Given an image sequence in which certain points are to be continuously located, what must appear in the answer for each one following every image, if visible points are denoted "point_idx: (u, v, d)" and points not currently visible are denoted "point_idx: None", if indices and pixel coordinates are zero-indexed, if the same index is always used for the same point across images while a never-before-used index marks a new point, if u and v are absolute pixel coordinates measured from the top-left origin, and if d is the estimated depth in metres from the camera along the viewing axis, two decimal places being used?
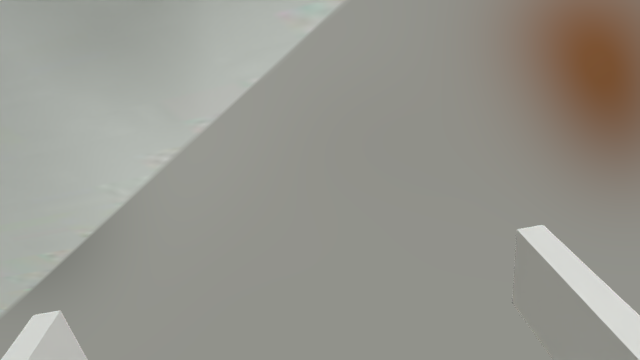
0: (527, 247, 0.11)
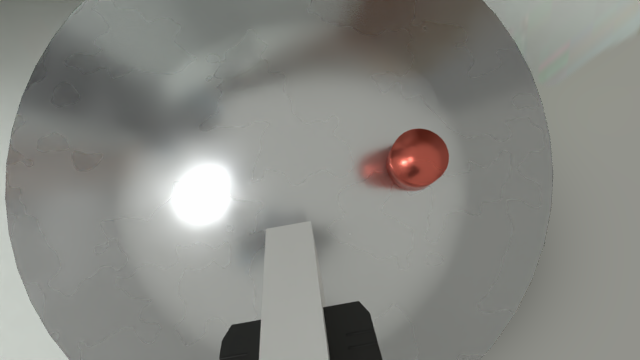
0: (289, 240, 0.14)
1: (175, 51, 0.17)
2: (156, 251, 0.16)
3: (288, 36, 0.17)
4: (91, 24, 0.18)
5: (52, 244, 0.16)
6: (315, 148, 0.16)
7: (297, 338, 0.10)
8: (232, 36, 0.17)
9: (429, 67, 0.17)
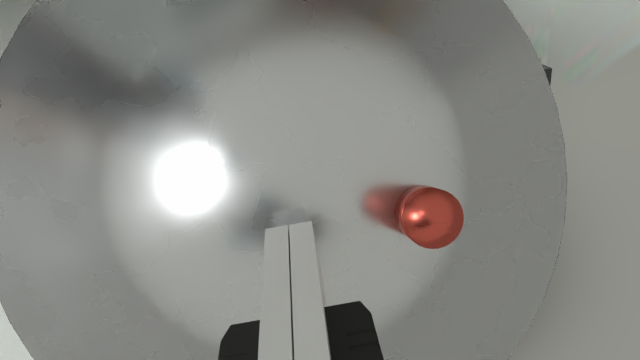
0: (290, 240, 0.14)
1: (154, 77, 0.15)
2: (156, 304, 0.15)
3: (287, 59, 0.15)
4: (46, 40, 0.15)
5: (43, 298, 0.15)
6: (319, 194, 0.15)
7: (298, 338, 0.10)
8: (220, 58, 0.15)
9: (447, 100, 0.15)
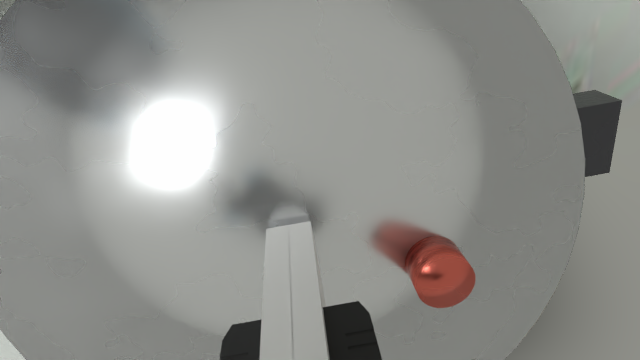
0: (289, 240, 0.14)
1: (146, 134, 0.13)
2: (170, 342, 0.16)
3: (299, 113, 0.13)
4: (8, 93, 0.12)
5: (58, 342, 0.15)
6: (330, 247, 0.15)
7: (296, 338, 0.10)
8: (221, 113, 0.13)
9: (472, 155, 0.14)
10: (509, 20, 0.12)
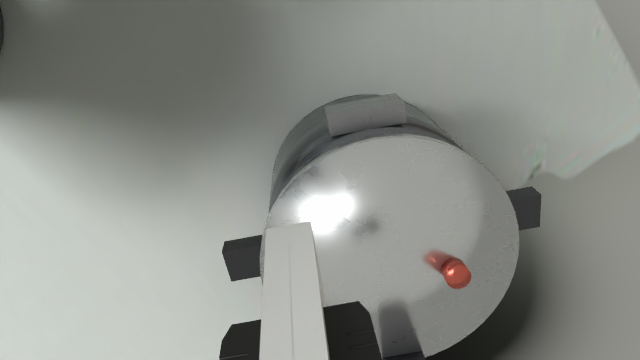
0: (289, 240, 0.14)
1: (339, 218, 0.33)
2: (335, 304, 0.36)
3: (399, 209, 0.33)
4: (292, 204, 0.32)
5: None
6: (408, 262, 0.35)
7: (297, 338, 0.10)
8: (369, 209, 0.33)
9: (469, 224, 0.34)
10: (482, 174, 0.32)
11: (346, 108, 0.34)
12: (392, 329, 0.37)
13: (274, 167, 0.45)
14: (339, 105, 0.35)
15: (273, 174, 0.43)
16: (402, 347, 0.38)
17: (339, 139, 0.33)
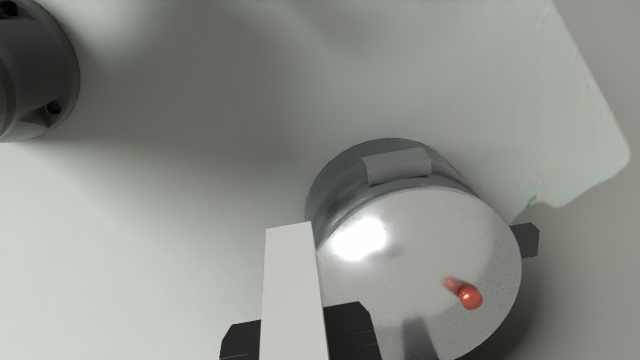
0: (289, 240, 0.14)
1: (376, 253, 0.40)
2: None
3: (425, 246, 0.40)
4: (338, 242, 0.39)
5: None
6: (431, 287, 0.42)
7: (297, 338, 0.10)
8: (401, 246, 0.40)
9: (481, 257, 0.41)
10: (493, 218, 0.39)
11: (382, 161, 0.40)
12: (415, 342, 0.44)
13: (309, 199, 0.51)
14: (374, 157, 0.42)
15: (309, 206, 0.50)
16: (422, 356, 0.45)
17: (377, 188, 0.40)
